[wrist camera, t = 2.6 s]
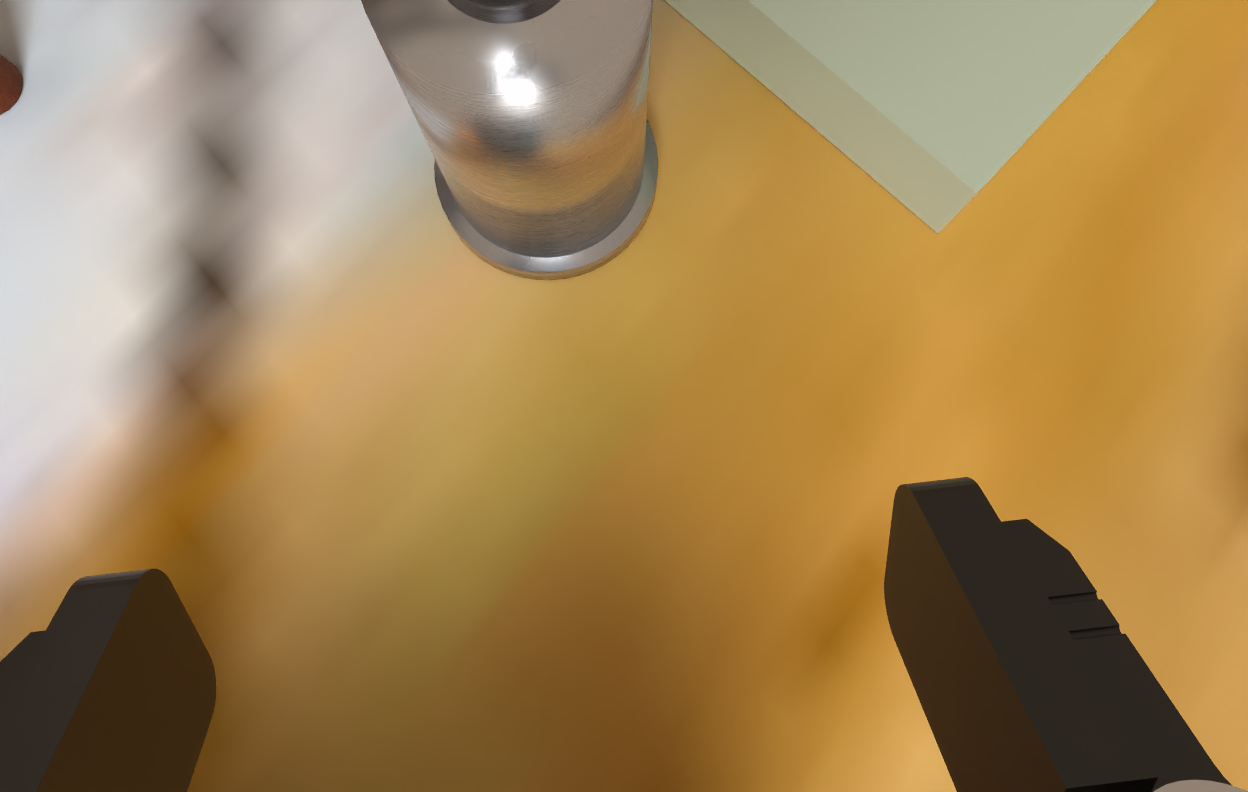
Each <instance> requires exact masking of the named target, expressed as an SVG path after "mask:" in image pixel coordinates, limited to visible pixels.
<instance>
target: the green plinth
mask: <svg viewBox="0 0 1248 792" xmlns="http://www.w3.org/2000/svg"><path fill="white" fill-rule="evenodd" d="M665 1H666V2H667V3H668V4H670V5H671V6H672V7H673V8H674V9H675V10H677V11H678V12H679V13H680V14H681V15H682V16H684V17H685V18H686V19H687V20H688V21H689V22H691V23H692V24H693V25H694V26H695V27H696V28H698V29H699V30H700V31H701V32H702V33H703V34H705V35H706V36H707V37H708V38H709V39H710V40H712V41H713V42H714V43H715V44H716V45H717V46H719V47H720V48H721V49H722V50H723V51H725V52H726V53H727V54H728V55H729V56H730V57H732V58H733V59H734V60H735V61H736V62H737V63H739V64H740V65H741V66H742V67H743V68H744V69H746V70H747V71H748V72H749V73H750V74H751V75H753V76H754V77H755V78H756V79H757V80H758V81H760V82H761V83H762V84H763V85H764V86H765V87H767V88H768V89H769V90H770V91H771V92H772V93H774V94H775V95H776V96H777V97H778V98H779V99H781V100H782V101H783V102H784V103H785V104H786V105H788V106H789V107H790V108H791V109H792V110H794V111H795V112H796V113H797V114H798V115H799V116H801V117H802V118H803V119H804V120H805V121H806V122H808V123H809V124H810V125H811V126H812V127H813V128H815V129H816V130H817V131H818V132H819V133H820V134H822V135H823V136H824V137H825V138H826V139H827V140H829V141H830V142H831V143H832V144H833V145H834V146H836V147H837V148H838V149H839V150H840V151H841V152H843V153H844V154H845V155H846V156H847V157H848V158H850V159H851V160H852V161H853V162H854V163H856V164H857V165H858V166H859V167H860V168H861V169H863V170H864V171H865V172H866V173H867V174H868V175H870V176H871V177H872V178H873V179H874V180H875V181H877V182H878V183H879V184H880V185H881V186H882V187H884V188H885V189H886V190H887V191H888V192H889V193H891V194H892V195H893V196H894V197H895V198H896V199H898V200H899V201H900V202H901V203H902V204H903V205H905V206H906V207H907V208H908V209H909V210H910V211H912V212H913V213H914V214H915V215H916V216H917V217H919V218H920V219H921V220H922V221H923V222H925V223H926V224H927V225H928V226H929V227H930V228H932V229H933V230H934V231H935V232H936V233H937V234H938V233H939V232H940V231H941V230H942V229H943V228H944V227H945V226H946V225H947V224H948V223H949V222H950V221H951V220H952V219H953V218H954V217H955V216H956V215H957V214H958V213H959V211H960V210H961V209H962V208H963V207H964V206H965V205H966V204H967V203H968V202H969V201H970V200H971V199H972V198H973V197H974V196H975V195H976V194H977V193H978V192H979V191H980V190H981V189H982V188H983V187H984V186H985V184H986V183H987V182H988V181H989V180H990V179H991V178H992V177H993V176H994V175H995V174H996V173H997V172H998V170H999V169H1000V168H1001V167H1002V166H1003V165H1004V164H1005V163H1006V162H1007V161H1008V160H1009V159H1010V158H1011V156H1012V155H1013V154H1014V153H1015V152H1016V151H1017V150H1018V149H1019V148H1020V147H1021V146H1022V145H1023V144H1024V142H1025V141H1026V140H1027V139H1028V138H1029V137H1030V136H1031V135H1032V134H1033V133H1034V132H1035V131H1036V130H1037V128H1038V127H1039V126H1040V125H1041V124H1042V123H1043V122H1044V121H1045V120H1046V119H1047V118H1048V117H1049V116H1050V114H1051V113H1052V112H1053V111H1054V110H1055V109H1056V108H1057V107H1058V106H1059V105H1060V104H1061V103H1062V102H1063V100H1064V99H1065V98H1066V97H1067V96H1068V95H1069V94H1070V93H1071V92H1072V91H1073V90H1074V89H1075V88H1076V86H1077V85H1078V84H1079V83H1080V82H1081V81H1082V80H1083V79H1084V78H1085V77H1086V76H1087V75H1088V74H1089V72H1090V71H1091V70H1092V69H1093V68H1094V67H1095V66H1096V65H1097V64H1098V63H1099V62H1100V61H1101V60H1102V58H1103V57H1104V56H1105V55H1106V54H1107V53H1108V52H1109V51H1110V50H1111V49H1112V48H1113V47H1114V46H1115V44H1116V43H1117V42H1118V41H1119V40H1120V39H1121V38H1122V37H1123V36H1124V35H1125V34H1126V33H1127V32H1128V30H1129V29H1130V28H1131V27H1132V26H1133V25H1134V24H1135V23H1136V22H1137V21H1138V20H1139V19H1140V18H1141V16H1142V15H1143V14H1144V13H1145V12H1146V11H1147V10H1148V9H1149V8H1150V7H1151V6H1152V5H1153V4H1154V2H1155V1H1156V0H665Z"/></svg>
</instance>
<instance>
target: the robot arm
mask: <svg viewBox="0 0 1248 792" xmlns="http://www.w3.org/2000/svg"><path fill="white" fill-rule="evenodd" d="M1096 592H1097V591H1096V590H1095V588H1094V587H1093V585H1092V584H1091V582H1090V581H1089V579H1088V578H1087V576H1086V575H1085V573H1084V572H1083V571H1082V569H1081V568H1080V566H1079V565H1078V563H1077V562H1076V560H1075V559H1074V557H1073V556H1072V554H1071V553H1070V551H1069V550H1067V549H1066V548H1065V547H1063V546H1062V545H1061V544H1059V543H1058V542H1057V541H1055V540H1054V539H1053V538H1051V537H1050V536H1049V535H1047V534H1046V533H1045V532H1043V531H1042V530H1041V529H1040V528H1038V527H1037V526H1036V525H1034V524H1033V523H1032V522H1030V521H1029V520H1028V519H1021V520H1013V521H1004V522H1001V521H1000V519H999V518H998V516H997V514H996V513H995V511H994V509H993V508H992V506H991V505H990V503H989V501H988V500H987V498H986V496H985V495H984V493H983V492H982V490H981V488H980V487H979V486H978V484H977V483H976V482H975V481H974V480H973V479H971V478H968V477H964V478H955V479H946V480H938V481H929V482H920V483H912V484H903V485H900V486H899V487H898V488H897V490H896V493H895V497H894V504H893V513H892V521H891V529H890V537H889V546H888V554H887V562H886V570H885V579H884V595H885V604H886V611H887V616H888V620H889V624H890V628H891V631H892V634H893V637H894V640H895V642H896V644H897V647H898V649H899V652H900V654H901V657H902V659H903V661H904V664H905V666H906V669H907V671H908V674H909V676H910V679H911V681H912V683H913V686H914V688H915V691H916V693H917V696H918V698H919V700H920V703H921V705H922V708H923V710H924V713H925V715H926V717H927V720H928V722H929V725H930V727H931V730H932V732H933V734H934V737H935V739H936V742H937V744H938V747H939V749H940V752H941V754H942V756H943V759H944V761H945V764H946V766H947V769H948V771H949V773H950V776H951V778H952V781H953V783H954V786H955V788H956V790H957V792H1248V791H1246V790H1243V789H1240V788H1237V787H1234V786H1232V785H1231V784H1230V783H1229V782H1228V781H1227V780H1226V779H1225V778H1224V776H1223V775H1222V774H1221V773H1220V771H1219V770H1218V769H1217V767H1216V766H1215V765H1214V763H1213V762H1212V761H1211V759H1210V758H1209V756H1208V755H1207V753H1206V752H1205V750H1204V749H1203V747H1202V746H1201V744H1200V743H1199V741H1198V740H1197V738H1196V737H1195V736H1194V734H1193V733H1192V731H1191V730H1190V728H1189V727H1188V725H1187V724H1186V722H1185V721H1184V719H1183V718H1182V716H1181V715H1180V713H1179V712H1178V710H1177V709H1176V708H1175V706H1174V705H1173V703H1172V702H1171V700H1170V699H1169V697H1168V696H1167V694H1166V693H1165V691H1164V690H1163V688H1162V687H1161V685H1160V684H1159V682H1158V681H1157V680H1156V678H1155V677H1154V675H1153V674H1152V672H1151V671H1150V669H1149V668H1148V666H1147V665H1146V663H1145V662H1144V660H1143V659H1142V657H1141V656H1140V654H1139V653H1138V652H1137V650H1136V649H1135V647H1134V646H1133V644H1132V643H1131V641H1130V640H1129V638H1128V637H1127V635H1126V634H1121V632H1120V629H1119V624H1118V622H1117V621H1116V619H1115V618H1114V616H1113V615H1112V613H1111V612H1110V610H1109V609H1108V607H1107V606H1106V604H1105V603H1104V601H1103V600H1102V599H1101V600H1099V599H1098V598H1097V595H1096ZM215 699H216V678H215V671H214V666H213V663H212V660H211V658H210V655H209V653H208V651H207V649H206V648H205V646H204V644H203V642H202V640H201V638H200V636H199V634H198V632H197V631H196V629H195V627H194V625H193V623H192V621H191V619H190V617H189V615H188V613H187V612H186V610H185V608H184V606H183V604H182V602H181V600H180V598H179V596H178V594H177V593H176V591H175V589H174V587H173V585H172V583H171V581H170V580H169V578H168V577H167V576H166V574H165V573H164V572H162V571H161V570H158V569H147V570H138V571H129V572H121V573H112V574H103V575H95V576H86V577H83V578H80V579H79V580H77V581H76V582H75V583H74V584H73V585H72V586H71V588H70V589H69V591H68V592H67V594H66V596H65V597H64V599H63V601H62V603H61V605H60V606H59V608H58V610H57V612H56V613H55V615H54V617H53V619H52V621H51V622H50V624H49V626H48V628H47V629H46V631H39V632H31V633H30V634H29V635H28V636H27V637H26V638H25V639H23V640H22V641H21V642H20V643H19V644H18V645H17V646H16V647H15V648H14V649H13V650H12V651H11V652H10V653H9V654H8V655H7V656H6V657H5V658H4V659H3V660H2V661H1V662H0V792H187V790H188V787H189V784H190V781H191V778H192V775H193V772H194V769H195V766H196V763H197V760H198V757H199V754H200V751H201V748H202V745H203V742H204V739H205V736H206V733H207V730H208V727H209V724H210V721H211V718H212V715H213V711H214V706H215Z"/></svg>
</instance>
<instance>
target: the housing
mask: <svg viewBox="0 0 1248 792" xmlns="http://www.w3.org/2000/svg"><path fill="white" fill-rule="evenodd" d="M361 1H362V4H363V7H364V9H365V12H366V14H367V16H368V18H369V20H370V22H371V25H372V27H373V29H374V31H375V33H376V35H377V37H378V39H379V41H380V44H381V46H382V48H383V50H384V52H385V54H386V56H387V58H388V60H389V63H390V65H391V67H392V69H393V71H394V73H395V75H396V77H397V79H398V82H399V84H400V86H401V88H402V90H403V92H404V94H405V96H406V98H407V100H408V103H409V105H410V107H411V109H412V111H413V113H414V115H415V117H416V119H417V122H418V124H419V126H420V128H421V130H422V132H423V134H424V136H425V138H426V141H427V143H428V145H429V147H430V149H431V151H432V153H433V155H434V157H435V165H434V170H435V182H436V187H437V192H438V196H439V199H440V202H441V204H442V207H443V209H444V211H445V213H446V215H447V217H448V219H449V221H450V223H451V225H452V227H453V228H454V230H455V232H456V233H457V234H458V236H459V237H460V239H461V240H462V241H463V242H464V244H465V245H466V246H467V247H468V248H469V249H470V250H471V251H472V252H473V253H475V254H476V255H477V256H478V257H480V258H481V259H482V260H483V261H485V262H487V263H488V264H490V265H492V266H493V267H495V268H497V269H499V270H502V271H504V272H506V273H509V274H512V275H516V276H519V277H523V278H529V279H535V280H556V279H566V278H570V277H575V276H579V275H582V274H585V273H587V272H590V271H593V270H595V269H597V268H599V267H601V266H603V265H605V264H606V263H608V262H609V261H611V260H612V259H614V258H615V257H616V256H618V255H619V254H620V253H621V252H622V251H623V250H624V249H626V248H627V247H628V246H629V244H630V243H631V242H632V241H633V240H634V239H635V237H636V236H637V235H638V233H639V232H640V230H641V229H642V227H643V226H644V224H645V222H646V220H647V218H648V215H649V213H650V211H651V208H652V204H653V201H654V197H655V191H656V185H657V172H658V158H657V149H656V144H655V140H654V136H653V133H652V130H651V128H650V125H649V123H648V121H647V119H646V117H647V98H648V79H649V61H650V42H651V23H652V4H653V0H361Z"/></svg>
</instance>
